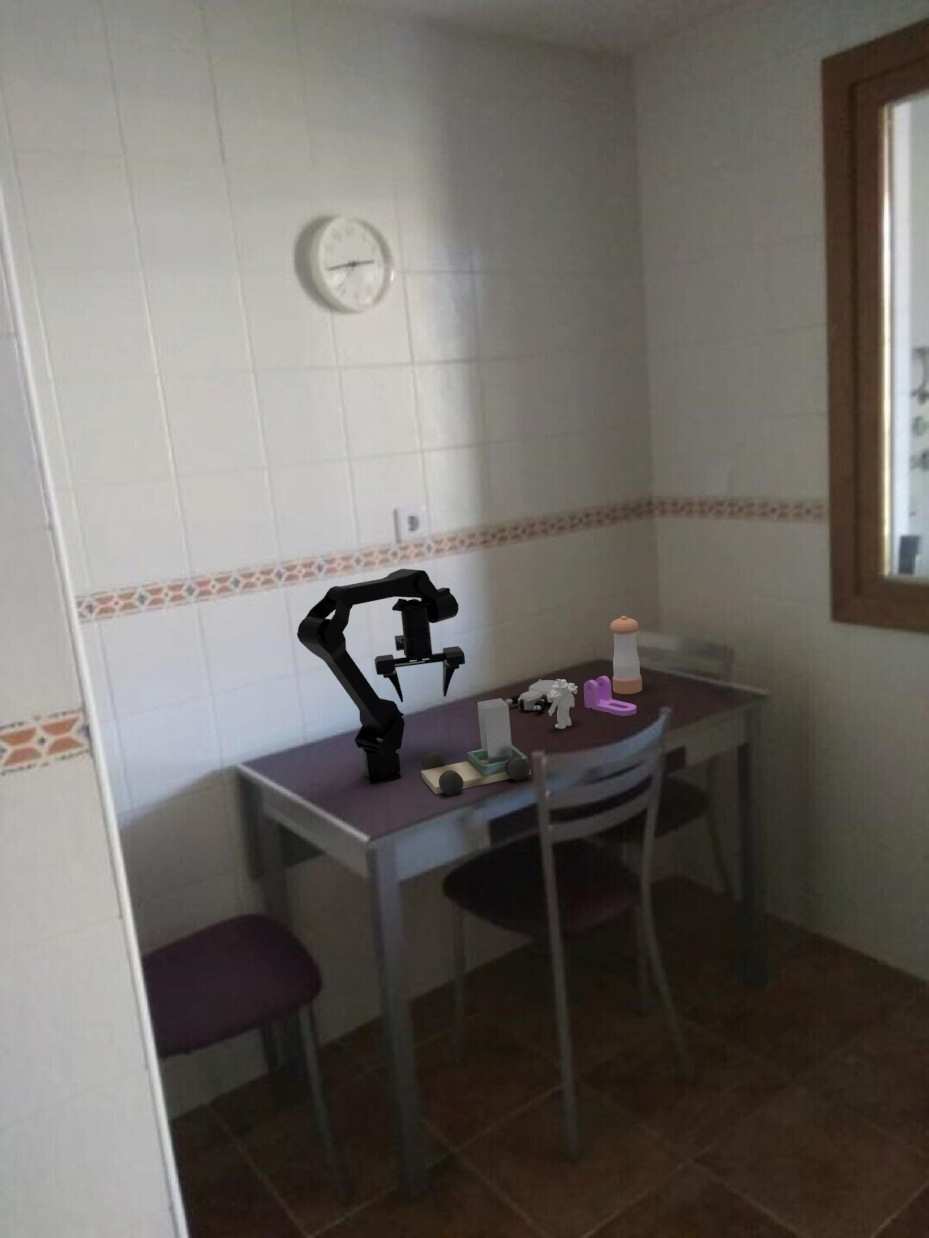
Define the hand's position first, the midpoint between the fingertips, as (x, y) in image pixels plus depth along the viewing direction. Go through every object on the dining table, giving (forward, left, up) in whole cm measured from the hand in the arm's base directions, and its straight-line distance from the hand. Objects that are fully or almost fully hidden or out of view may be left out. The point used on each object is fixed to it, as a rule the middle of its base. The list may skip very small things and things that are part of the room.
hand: (423, 699), depth 204 cm
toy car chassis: (+5, -16, -13) cm, 21 cm away
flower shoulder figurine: (+33, +2, -13) cm, 36 cm away
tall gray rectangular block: (+10, -16, -12) cm, 22 cm away
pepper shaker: (+58, +18, -13) cm, 62 cm away
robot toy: (+35, +19, -13) cm, 42 cm away
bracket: (+48, +6, -13) cm, 50 cm away
